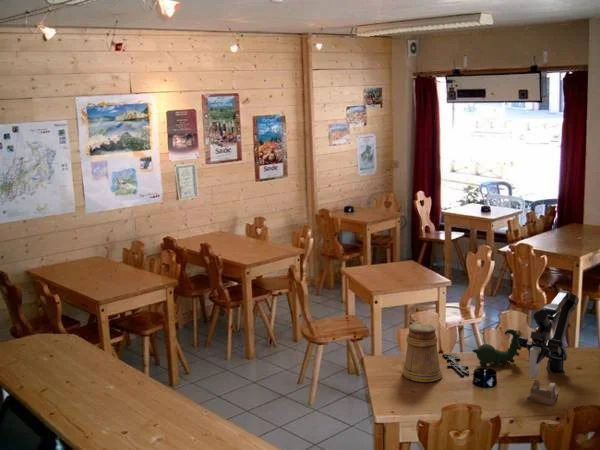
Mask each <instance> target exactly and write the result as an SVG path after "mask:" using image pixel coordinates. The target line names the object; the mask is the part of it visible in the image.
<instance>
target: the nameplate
mask: <svg viewBox="0 0 600 450" xmlns="http://www.w3.org/2000/svg"><path fill="white" fill-rule="evenodd" d="M442 357H443V359H445V360H446V362H447V363H449V362H450V364H447V365H446V369H453V371H455V373H457V375H459V376H460V377H461V378H464V377H465V376H467V377H469V376H470V370H468V369H469V366H468V365H463V364H459V362H461V358H460V357H457V356H456V355H453V354H450V353H442Z"/></svg>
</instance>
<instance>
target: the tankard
mask: <svg viewBox="0 0 600 450" xmlns="http://www.w3.org/2000/svg"><path fill="white" fill-rule="evenodd" d="M408 323H409V324H408V325H409V326H408V334H407V336H406V339H405V342H406V344H407V347H406V352H405V362H404V364H403V366H402V375H403V376H404V377H405V378H406V379H408V380H410V381H413V382H418V383H430V382H435V381H439V380H440V379H441V378H443V371H442V368H441V366H440V359H439V354H438V353H439V352H438V345H437V343H438V335H437V334H436V330H437V329H436V327H435V326H434V325H432V324H430V323H429V324H428V323H424V322H422V321H421V320H418V319H417V318H416V317H413V318H412V320H410V321H409V322H408Z"/></svg>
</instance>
